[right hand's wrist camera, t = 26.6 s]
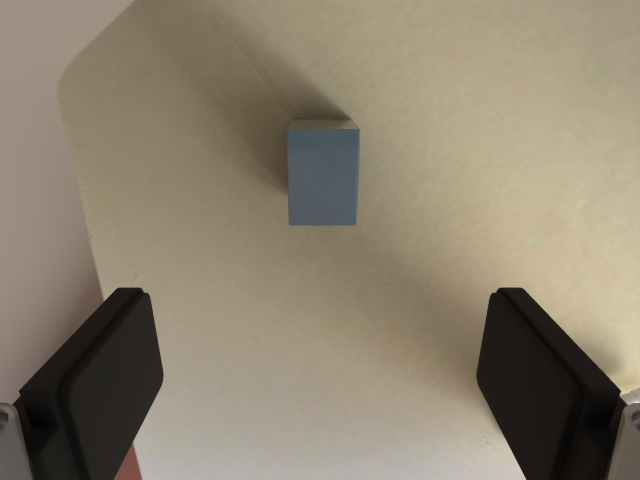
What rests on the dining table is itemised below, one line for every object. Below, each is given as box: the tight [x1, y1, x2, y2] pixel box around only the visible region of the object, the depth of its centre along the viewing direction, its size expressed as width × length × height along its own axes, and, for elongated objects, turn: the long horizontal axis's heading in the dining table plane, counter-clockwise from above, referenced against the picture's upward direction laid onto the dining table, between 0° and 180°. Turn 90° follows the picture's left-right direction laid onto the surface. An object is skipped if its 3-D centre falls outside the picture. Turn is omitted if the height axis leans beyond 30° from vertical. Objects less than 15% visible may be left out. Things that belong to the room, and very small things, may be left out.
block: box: [286, 119, 360, 225], centre depth 33 cm, size 5×7×7 cm
